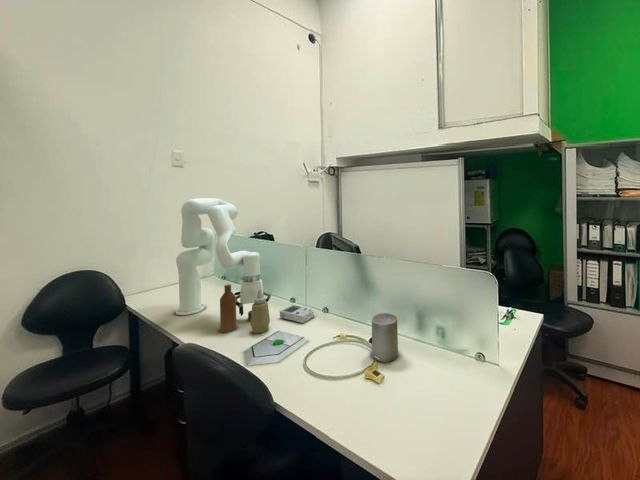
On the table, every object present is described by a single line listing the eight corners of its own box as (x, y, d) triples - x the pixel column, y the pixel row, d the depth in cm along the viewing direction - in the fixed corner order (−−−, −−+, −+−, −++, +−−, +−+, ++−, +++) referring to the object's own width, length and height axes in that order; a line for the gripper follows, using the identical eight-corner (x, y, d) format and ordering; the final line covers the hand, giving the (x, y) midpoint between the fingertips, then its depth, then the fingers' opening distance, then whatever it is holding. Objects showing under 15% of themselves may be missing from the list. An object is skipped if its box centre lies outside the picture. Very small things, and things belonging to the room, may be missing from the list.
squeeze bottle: (263, 335, 127) (262, 293, 127) (246, 334, 128) (245, 292, 128) (273, 327, 135) (273, 287, 134) (257, 325, 136) (257, 286, 136)
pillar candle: (394, 346, 116) (394, 308, 116) (400, 361, 106) (399, 319, 106) (370, 349, 114) (369, 310, 114) (373, 364, 105) (373, 321, 104)
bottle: (222, 327, 135) (221, 283, 135) (237, 325, 137) (236, 282, 137) (218, 333, 129) (218, 288, 129) (234, 331, 131) (234, 286, 131)
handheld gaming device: (302, 324, 137) (302, 315, 137) (279, 318, 144) (279, 310, 144) (315, 317, 145) (315, 309, 145) (292, 311, 152) (292, 304, 152)
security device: (230, 360, 108) (230, 354, 108) (276, 333, 129) (276, 328, 129) (264, 372, 101) (264, 366, 101) (307, 341, 121) (307, 336, 121)
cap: (247, 319, 144) (247, 311, 144) (255, 316, 146) (255, 309, 146) (249, 321, 141) (249, 314, 141) (258, 319, 143) (258, 311, 143)
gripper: (230, 282, 137) (231, 319, 137) (270, 278, 142) (271, 314, 142) (233, 277, 145) (234, 312, 145) (271, 274, 149) (272, 308, 149)
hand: (252, 313), depth 143 cm, fingers open, 9 cm apart
